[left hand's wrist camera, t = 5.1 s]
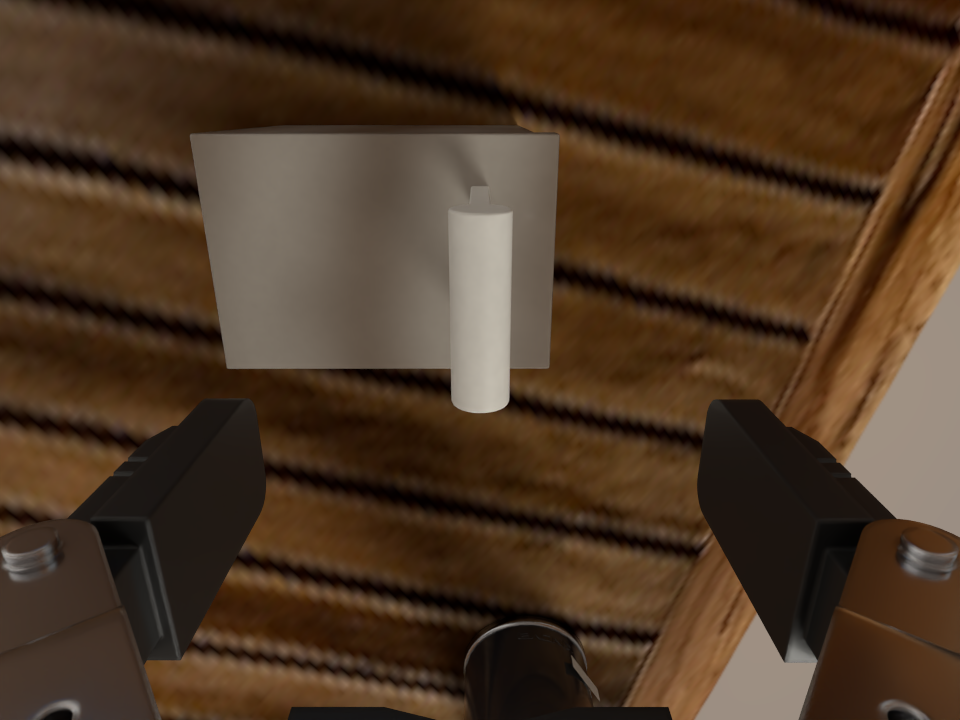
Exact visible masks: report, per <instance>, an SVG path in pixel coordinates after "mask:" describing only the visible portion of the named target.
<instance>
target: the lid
mask: <svg viewBox="0 0 960 720" xmlns="http://www.w3.org/2000/svg"><path fill="white" fill-rule="evenodd" d="M190 140H191V146H192V152H193V159H194V165H195V171H196V177H197V184H198V190H199V196H200V202H201V209H202V215H203V221H204V227H205V234H206V240H207V246H208V252H209V259H210V265H211V271H212V277H213V284H214V290H215V296H216V302H217V309H218V315H219V321H220V327H221V334H222V340H223V346H224V352H225V359H226V365H227V368H228V369H451V397H452V402H453V404H454V405H455V406H456V407H457V408H459V409H461V410H463V411H467V412H473V413H488V412H494V411H497V410H500V409H502V408H504V407H505V406H506V405H507V404H508V402H509V382H510V368H549V363H550V340H551V317H552V295H553V272H554V249H555V226H556V204H557V181H558V158H559V134H557V133H192V134H190Z"/></svg>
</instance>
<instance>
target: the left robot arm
mask: <svg viewBox="0 0 960 720" xmlns="http://www.w3.org/2000/svg"><path fill="white" fill-rule="evenodd" d="M697 490H698V499H699V504H700V508H701V511H702V513H703V515H704V517H705V519H706V521H707V522H708V524H709V526H710V528H711V530H712V531H713V533H714V535H715V537H716V539H717V541H718V542H719V544H720V546H721V548H722V550H723V552H724V553H725V555H726V557H727V559H728V561H729V562H730V564H731V566H732V568H733V570H734V572H735V573H736V575H737V577H738V579H739V581H740V582H741V584H742V586H743V588H744V590H745V592H746V593H747V595H748V597H749V599H750V601H751V603H752V604H753V606H754V608H755V610H756V612H757V613H758V615H759V617H760V619H761V621H762V623H763V624H764V626H765V628H766V630H767V632H768V633H769V635H770V637H771V639H772V641H773V643H774V644H775V646H776V648H777V650H778V652H779V653H780V655H781V657H782V659H783V661H784V662H817V665H816V668H815V671H814V674H813V677H812V680H811V683H810V686H809V689H808V692H807V695H806V699H805V702H804V705H803V708H802V711H801V714H800V717H799V720H960V537H958V536H956V535H954V534H952V533H949V532H947V531H945V530H942V529H940V528H937V527H934V526H931V525H927V524H924V523H920V522H915V521H910V520H903V519H896V518H895V517H894V516H893V515H892V514H891V513H890V512H889V511H888V510H887V509H886V508H885V507H884V506H883V505H882V504H881V503H880V502H879V501H878V500H877V499H876V498H875V497H874V496H873V495H872V494H871V493H870V492H869V491H868V490H867V489H866V488H865V487H864V486H863V485H862V484H861V483H860V482H859V481H858V480H857V479H856V478H851V473H850V472H849V471H848V470H847V469H846V468H845V467H844V466H843V465H842V464H841V463H836V459H835V458H834V457H833V456H832V455H831V454H830V453H829V452H828V451H827V450H826V449H825V448H824V447H823V446H822V445H821V444H820V443H819V442H818V441H816V440H814V439H812V438H811V437H809V436H807V435H805V434H803V433H801V432H800V431H798V430H796V429H794V428H792V427H786V426H785V425H784V424H783V423H782V422H781V421H780V420H779V419H778V418H777V417H776V416H775V415H774V414H773V413H772V412H771V411H770V410H769V409H768V408H767V407H766V406H765V405H764V403H763V402H761V401H760V400H713V401H712V402H711V404H710V406H709V408H708V412H707V418H706V425H705V431H704V438H703V445H702V452H701V458H700V465H699V472H698V480H697ZM265 493H266V476H265V469H264V462H263V455H262V448H261V441H260V434H259V428H258V421H257V414H256V409H255V406H254V404H253V402H252V401H251V400H250V399H204V400H202V401H201V402H200V403H199V404H198V406H197V407H196V408H195V409H194V410H193V411H192V412H191V413H190V414H189V415H188V416H187V417H186V418H185V419H184V420H183V421H182V422H181V423H180V424H179V426H172V427H170V428H168V429H166V430H164V431H162V432H161V433H159V434H157V435H155V436H153V437H152V438H150V439H148V440H146V441H145V442H144V443H143V444H142V445H141V446H140V447H139V448H138V449H137V450H136V451H135V452H134V453H133V454H132V455H131V456H130V457H129V458H128V462H124V463H123V464H122V465H121V466H120V467H119V468H118V469H117V470H116V471H115V472H114V476H110V477H109V478H108V479H107V480H106V481H105V482H104V483H103V484H102V485H101V486H100V487H99V488H98V489H97V490H96V491H95V492H94V493H93V494H92V495H91V496H90V497H89V498H88V499H87V500H86V501H85V502H84V503H83V504H81V505H80V506H79V507H78V508H77V509H76V510H75V511H74V512H73V513H72V514H71V515H70V516H69V517H68V518H67V519H57V520H50V521H45V522H40V523H36V524H32V525H29V526H26V527H23V528H20V529H18V530H15V531H13V532H11V533H8V534H6V535H4V536H2V537H0V720H161V717H160V714H159V711H158V708H157V705H156V702H155V699H154V695H153V692H152V689H151V686H150V683H149V680H148V677H147V674H146V671H145V668H144V664H145V662H146V661H147V660H181V658H182V656H183V655H184V653H185V651H186V649H187V647H188V645H189V644H190V642H191V640H192V638H193V636H194V634H195V633H196V631H197V629H198V627H199V625H200V623H201V621H202V620H203V618H204V616H205V614H206V612H207V610H208V609H209V607H210V605H211V603H212V601H213V599H214V598H215V596H216V594H217V592H218V590H219V588H220V586H221V585H222V583H223V581H224V579H225V577H226V575H227V574H228V572H229V570H230V568H231V566H232V564H233V562H234V561H235V559H236V557H237V555H238V553H239V551H240V550H241V548H242V546H243V544H244V542H245V540H246V539H247V537H248V535H249V533H250V531H251V529H252V527H253V526H254V524H255V522H256V520H257V518H258V516H259V515H260V513H261V510H262V508H263V504H264V500H265ZM464 678H465V694H464V720H672V717H671V714H670V711H669V708H668V707H593V702H592V696H591V691H590V689H591V690H592V692H593V693H594V694H595V696H596V697H597V698H598V700H599V701H600V699H599V694H598V690H597V688H596V687H595V685H594V684H593V683H592V682H591V680H590V679H589V678H588V675H587V663H586V658H585V653H584V649H583V646H582V644H581V642H580V641H579V639H578V638H577V637H576V635H575V634H574V633H573V632H572V631H571V630H569V629H568V628H567V627H565V626H564V625H562V624H560V623H558V622H556V621H553V620H551V619H547V618H543V617H538V616H515V617H509V618H505V619H502V620H499V621H496V622H494V623H492V624H490V625H488V626H487V627H485V628H484V629H482V630H481V631H480V632H479V633H478V634H477V635H476V636H475V637H474V638H473V639H472V640H471V642H470V643H469V645H468V647H467V650H466V652H465V657H464ZM288 720H435V719H431V718H427V717H422V716H418V715H414V714H410V713H406V712H402V711H398V710H394V709H390V708H386V707H292V708H291V711H290V714H289V717H288Z"/></svg>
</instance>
